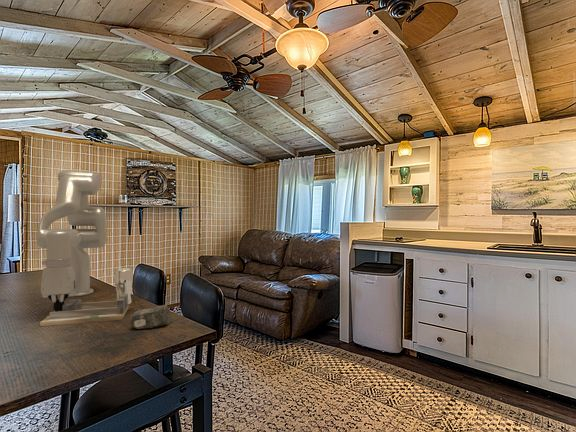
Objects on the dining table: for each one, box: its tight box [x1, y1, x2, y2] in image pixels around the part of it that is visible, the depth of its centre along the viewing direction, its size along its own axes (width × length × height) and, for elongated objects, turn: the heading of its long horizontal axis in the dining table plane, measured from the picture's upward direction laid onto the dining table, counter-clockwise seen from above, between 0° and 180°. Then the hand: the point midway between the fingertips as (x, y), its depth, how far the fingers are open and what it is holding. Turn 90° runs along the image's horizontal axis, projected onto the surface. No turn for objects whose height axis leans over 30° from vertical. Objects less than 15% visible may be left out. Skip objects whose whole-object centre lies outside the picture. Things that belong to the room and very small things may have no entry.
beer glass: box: [114, 267, 134, 305], centre depth 144 cm, size 7×7×15 cm
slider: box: [62, 298, 82, 311], centre depth 123 cm, size 12×4×5 cm, turn 17°
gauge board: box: [39, 294, 130, 327], centre depth 127 cm, size 16×26×6 cm, turn 107°
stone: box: [129, 304, 173, 330], centre depth 117 cm, size 14×7×10 cm, turn 129°
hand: (59, 311), depth 124 cm, fingers closed
